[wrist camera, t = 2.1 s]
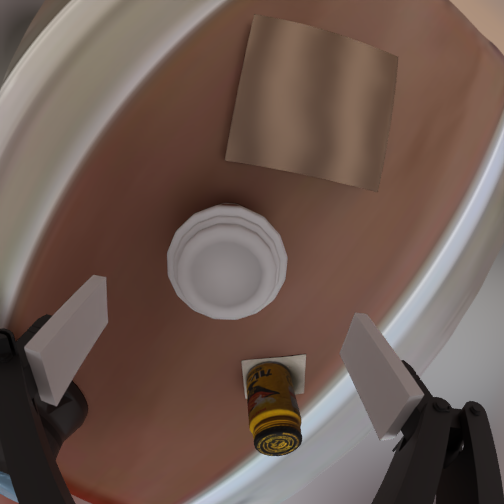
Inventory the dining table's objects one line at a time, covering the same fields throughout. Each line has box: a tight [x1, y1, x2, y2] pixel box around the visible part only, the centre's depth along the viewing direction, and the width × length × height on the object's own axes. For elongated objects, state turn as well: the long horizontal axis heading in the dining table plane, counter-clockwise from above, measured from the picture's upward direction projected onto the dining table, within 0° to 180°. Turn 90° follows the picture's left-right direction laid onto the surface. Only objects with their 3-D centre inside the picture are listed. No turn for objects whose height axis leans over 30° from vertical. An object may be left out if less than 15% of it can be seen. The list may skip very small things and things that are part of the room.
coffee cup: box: [167, 203, 288, 320], centre depth 26 cm, size 9×9×12 cm
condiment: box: [241, 354, 306, 456], centre depth 33 cm, size 7×8×12 cm
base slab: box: [225, 14, 398, 192], centre depth 26 cm, size 15×15×4 cm
